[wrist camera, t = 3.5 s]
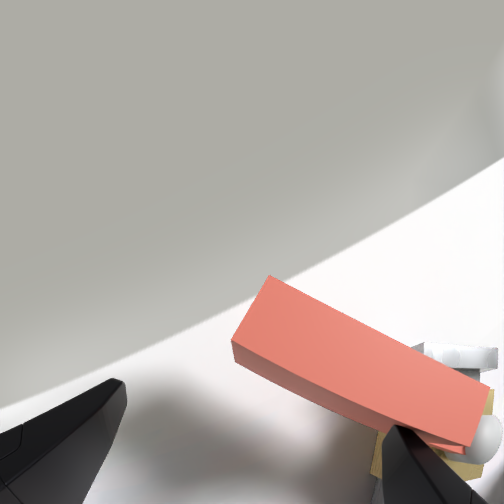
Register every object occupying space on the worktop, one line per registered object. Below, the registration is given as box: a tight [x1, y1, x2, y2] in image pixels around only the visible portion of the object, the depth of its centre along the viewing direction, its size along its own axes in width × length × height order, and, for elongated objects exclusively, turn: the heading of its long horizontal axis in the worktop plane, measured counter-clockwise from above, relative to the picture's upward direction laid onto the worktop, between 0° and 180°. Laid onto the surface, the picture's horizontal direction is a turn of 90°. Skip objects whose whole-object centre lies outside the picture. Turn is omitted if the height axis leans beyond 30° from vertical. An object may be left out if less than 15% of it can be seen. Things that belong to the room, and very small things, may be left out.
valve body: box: [370, 342, 498, 504], centre depth 13 cm, size 13×6×5 cm, turn 169°
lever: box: [231, 275, 502, 465], centre depth 9 cm, size 13×2×5 cm, turn 61°
